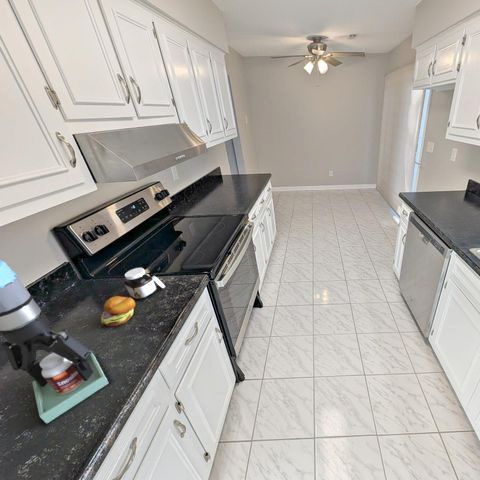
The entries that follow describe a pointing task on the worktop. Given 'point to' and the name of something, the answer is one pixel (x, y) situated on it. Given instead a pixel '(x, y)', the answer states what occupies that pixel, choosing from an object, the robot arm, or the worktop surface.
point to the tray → (57, 404)
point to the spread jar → (141, 283)
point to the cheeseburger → (117, 310)
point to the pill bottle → (60, 374)
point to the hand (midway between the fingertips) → (68, 379)
